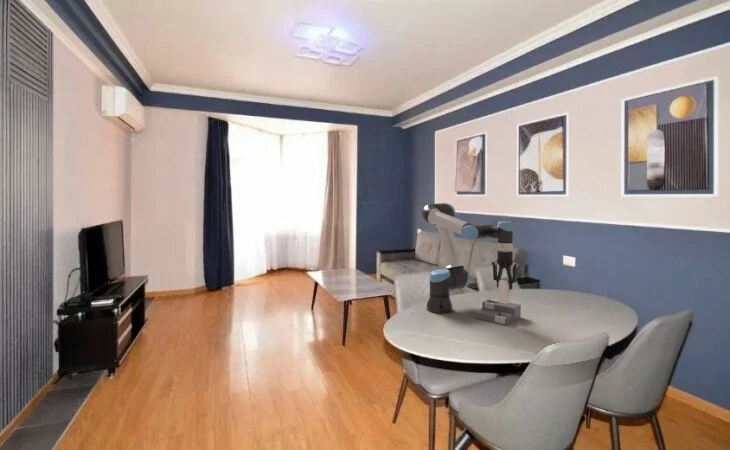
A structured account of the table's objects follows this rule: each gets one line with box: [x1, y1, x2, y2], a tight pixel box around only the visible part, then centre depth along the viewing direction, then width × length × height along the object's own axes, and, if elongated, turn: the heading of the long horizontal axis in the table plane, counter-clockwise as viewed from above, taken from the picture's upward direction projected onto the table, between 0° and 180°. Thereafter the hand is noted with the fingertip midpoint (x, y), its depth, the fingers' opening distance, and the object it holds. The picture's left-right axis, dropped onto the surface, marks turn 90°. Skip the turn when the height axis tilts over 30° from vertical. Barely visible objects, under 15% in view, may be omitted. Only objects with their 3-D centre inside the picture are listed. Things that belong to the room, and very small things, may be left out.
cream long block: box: [498, 277, 511, 304], centre depth 197 cm, size 4×4×13 cm
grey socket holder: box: [474, 298, 522, 326], centre depth 205 cm, size 18×18×7 cm
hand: (504, 294), depth 197 cm, fingers closed on cream long block, 4 cm apart
